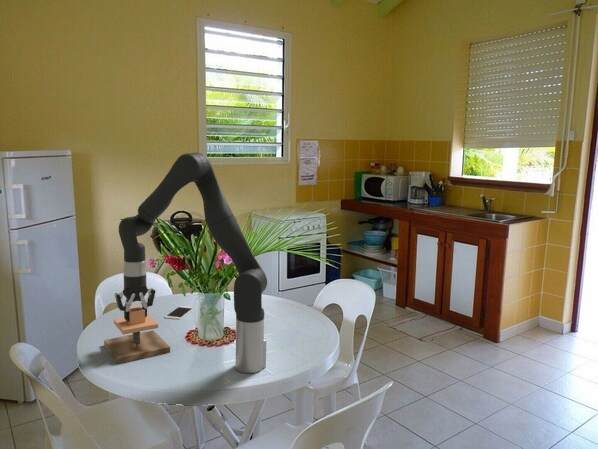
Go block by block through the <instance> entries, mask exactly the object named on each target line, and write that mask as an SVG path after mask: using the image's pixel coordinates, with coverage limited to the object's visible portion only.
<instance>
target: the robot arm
mask: <svg viewBox="0 0 598 449" xmlns="http://www.w3.org/2000/svg"><path fill="white" fill-rule="evenodd" d="M190 183H194V185H195V186H196V187H197V189H198V191H199V193H200V195H201V196H200V197H201V198H202V202H203V214H204V215H203V216H204V220H205V223H206V225H207V228H208V230H209V232H210V234H211V236H212V238H213V239H214V241H215V243H216V244H217V245H218V246H219V247H220V248H221V249H222V251H224V253H225V254H227V255H228V257H229V258H230V259H231V261H232V263H233V264H234V267H235V268H236V271H237V274H238V275H237V277H236V278H235V280H234V282H233V309H234V312H235V370H237V371H238V372H240V373H243V374H253V373H258V372H261V371H262V370H263V369H264V368H266V367H267V340H266V339H265V310H264V308H263V306H262V305H263V304H262V303H263V302H262V297H263V296H262V294H263V293H264V292H265V290H266V288H267V287H268V278H267V275H266V273H265V271H264V270H263V268H262V266H261V265H260V263H259V262H258V261H257V259H256V257H255V256H254V253H253V252H252V250H251V248H250V246H249V244H248V242H247V240H246V237H245V236H244V233H243V230H242V229H241V227H240V225H239V223H238V221H237V218H236V216H235V215H234V212H233V211H232V209H231V208H230V205H229V203H228V201H227V199H226V196H225V195H224V193H223V191H222V189H221V185H220V184H219V182H218V178H217V176H216V174H215V171H214V168H213V165H212V163H211V161H210V159H209V158H208V157H207V155H205V154H204V153H201V152H187V153H183V154H181V155H180V156H178V157H177V159H176V160H175V162H174V163H173V164H172V166H171V167H170V169H169V171H168V173H167V174H166V175H165V177H164V178H163V179H162V181H161V182H160V183H159V184H158V186H157V187H156V188H155V189H154V190H153V191H152V192H151V194H149V196H147V197H146V198H145V200H144V201H142V203H140V205H139V206H138V209H137V214H136V215H132V216H129V217H128V216H127V217H124V218H123V219H121V220H120V222H119V224H118V234H119V238H120V241H121V245H122V248H123V271H122V272H123V290H122V292H119V293H114V298H115V301H116V305H117V308H118V310H119V311H121V312H122V311H123V318H124V319H125V320H126V321H127V322H128V321H129V309H130V308H131V306H132V304H133V303H134V302H135V303H136V302H140V304H141V307H142V308H143V309H144V310H145V318H146V317H147V314H148V308H149V307H152V306H153V304H154V300H155V296H156V290H155V289H154V288H152V287H151V288H148V287H147V263H146V246H145V245H144V243H141V242H139V241H138V237H139V236H143V235H145V234H147V233H148V232H149V231H150V230H151V229H152V227H153V226H154V224H155V222H156V220H157V219H158V218H159V217H161V215H162V214H163V213H164V212H165V211H166V210H167V209H168V207H170V204H171V203H172V201H173V199H174V198H175V196H176V195H177V193H178V192H179V191H180V190H181V189H183V188H184V187H185V186H187V185H189V184H190ZM146 294H148V297H147V301H146V299H145V296H146ZM123 297H125V300H124V305H123V302H122V300H123Z"/></svg>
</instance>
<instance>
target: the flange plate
mask: <svg viewBox="0 0 598 449" xmlns="http://www.w3.org/2000/svg"><path fill="white" fill-rule="evenodd" d="M113 324H114V326H115V327H116V328H117V329H118V330H119V332H121V334H122V336H125V335H128V334H129V335H130V334H133V333H134V332H140V333H141V332H146V331H151V330H155V329H158V328H159V323H158V322H157V321H156V320H154V319H153V317H152V316H150V315H149V314H148V313H147V317H146V318H145V310H144V309H143V308H142V305H141V306H134V307H130V309H129V321H128V322H127V321H126V320H125V319H124V317H120V318H115V319H113Z"/></svg>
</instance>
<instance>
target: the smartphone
mask: <svg viewBox="0 0 598 449" xmlns="http://www.w3.org/2000/svg"><path fill="white" fill-rule="evenodd" d="M194 309H195V307H194V306H187V305H186V306H185V305H178V307H176V308H175V309H173V310H172V311H171V312H169V313H168V314H166V315H165V316H164V319H171V320H179V321H180V320H181V319H182V318H184V317H185V316H186V315H188V314H190V312H192V310H194Z"/></svg>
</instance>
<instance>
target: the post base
mask: <svg viewBox="0 0 598 449" xmlns="http://www.w3.org/2000/svg"><path fill="white" fill-rule="evenodd" d="M103 343H104V344H103V345H104V347H105V348H106V350H107V351H108V353H109V354H110V356H111V357H112V358H113V360H114V361H115V362H117V363H116V364H117V365H121V364H125V363H128V362H133V361H137V360H142V359H146V358H151V357H154V356H159V355H163V354H169V353H171V346H170V345H169V344H168V343H167V342H166V341H165V340H164V339H163V338H162V337H160V335H159V334H158V333H157V332H156V331H154V330H147V331H142V332H141V331H140V332H134V333H131V334H129V335H128V334H126V335H122V336H118V337H113V338H108V339H104V340H103ZM120 363H121V364H120Z"/></svg>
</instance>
